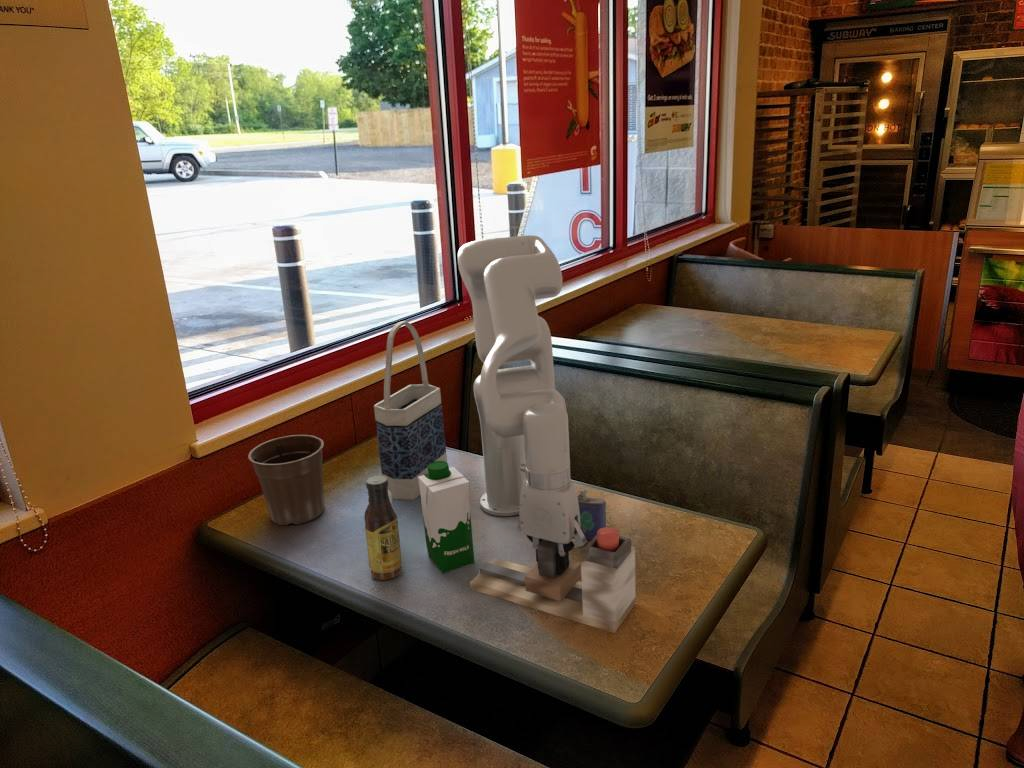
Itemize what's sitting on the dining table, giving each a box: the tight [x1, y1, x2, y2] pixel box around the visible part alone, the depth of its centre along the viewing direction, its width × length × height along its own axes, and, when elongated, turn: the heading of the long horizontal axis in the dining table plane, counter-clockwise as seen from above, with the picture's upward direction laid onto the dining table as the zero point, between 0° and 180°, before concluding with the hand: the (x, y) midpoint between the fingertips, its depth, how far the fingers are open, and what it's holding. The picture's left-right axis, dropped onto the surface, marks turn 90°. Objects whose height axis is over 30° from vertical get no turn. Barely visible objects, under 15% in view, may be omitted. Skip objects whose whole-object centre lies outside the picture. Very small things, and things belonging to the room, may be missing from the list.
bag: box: [373, 320, 448, 500], centre depth 179 cm, size 18×9×40 cm, turn 153°
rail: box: [469, 535, 636, 634], centre depth 136 cm, size 29×9×14 cm, turn 59°
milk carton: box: [418, 461, 475, 575], centre depth 148 cm, size 9×9×20 cm
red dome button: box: [597, 526, 620, 552], centre depth 128 cm, size 4×4×3 cm
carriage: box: [525, 539, 582, 601], centre depth 135 cm, size 7×8×9 cm
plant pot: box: [248, 434, 326, 526], centre depth 172 cm, size 16×16×16 cm
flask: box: [573, 489, 607, 543], centre depth 155 cm, size 9×3×11 cm, turn 68°
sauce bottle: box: [363, 475, 403, 581], centre depth 146 cm, size 7×6×20 cm
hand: (553, 567), depth 136 cm, fingers closed on carriage, 3 cm apart
